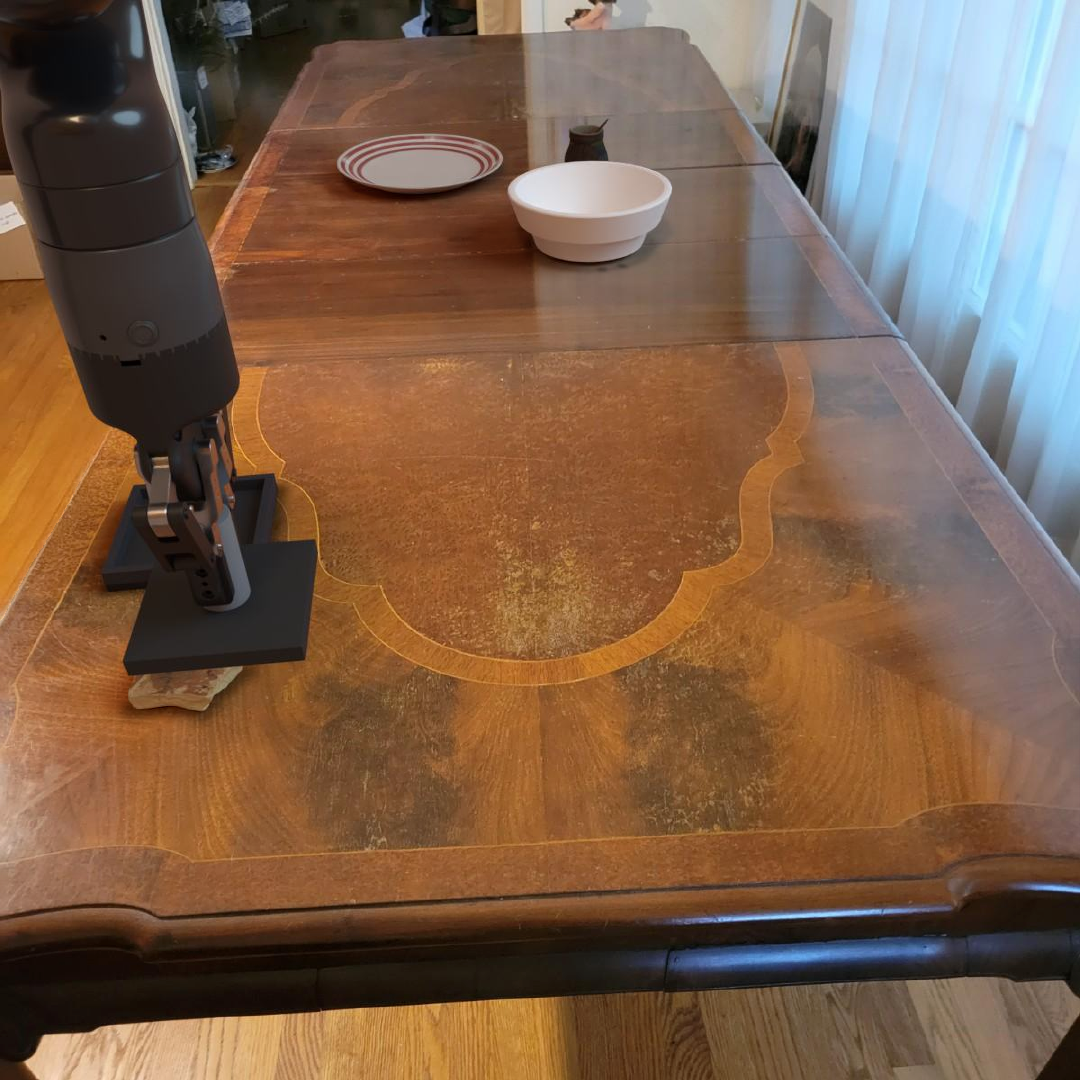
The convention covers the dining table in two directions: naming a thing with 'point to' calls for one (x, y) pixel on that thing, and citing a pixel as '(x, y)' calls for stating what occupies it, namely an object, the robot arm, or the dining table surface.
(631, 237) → the bowl
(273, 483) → the base pad
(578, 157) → the mate gourd
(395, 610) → the dining table surface
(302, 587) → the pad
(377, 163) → the dinner plate
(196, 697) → the shard
